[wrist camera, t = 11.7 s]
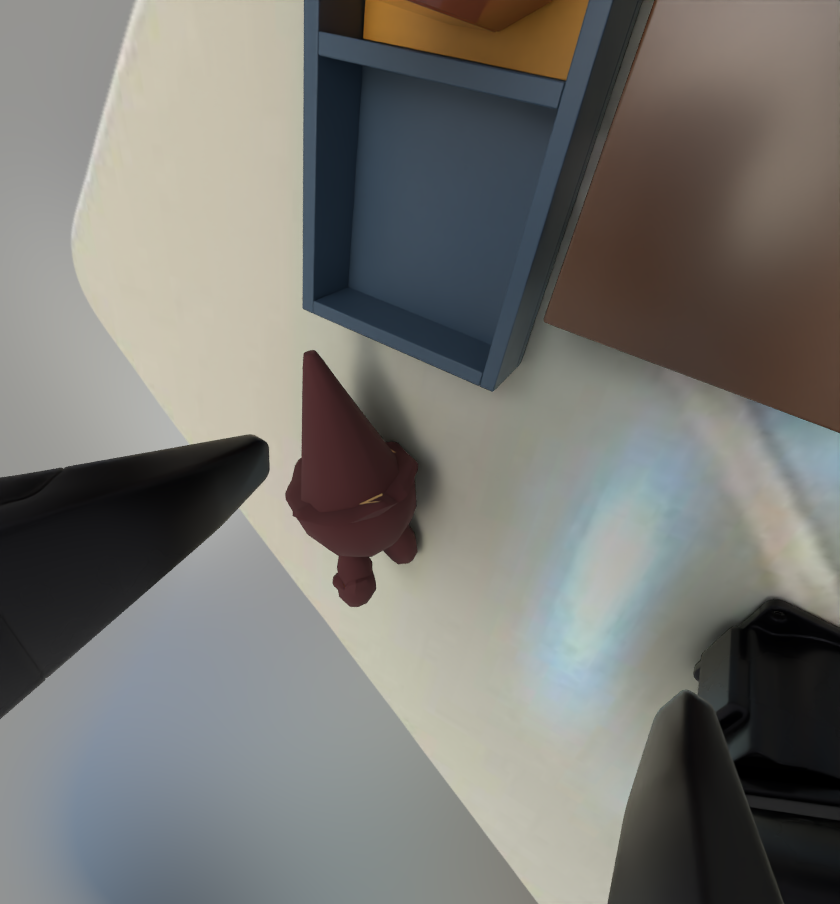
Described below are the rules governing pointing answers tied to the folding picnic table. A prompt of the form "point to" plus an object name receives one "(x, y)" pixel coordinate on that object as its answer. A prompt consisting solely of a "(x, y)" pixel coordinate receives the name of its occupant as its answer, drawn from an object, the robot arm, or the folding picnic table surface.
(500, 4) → the cup
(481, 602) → the folding picnic table surface
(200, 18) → the folding picnic table surface
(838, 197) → the brown low table
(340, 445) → the maroon cone-shaped figurine
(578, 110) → the blue divided tray
